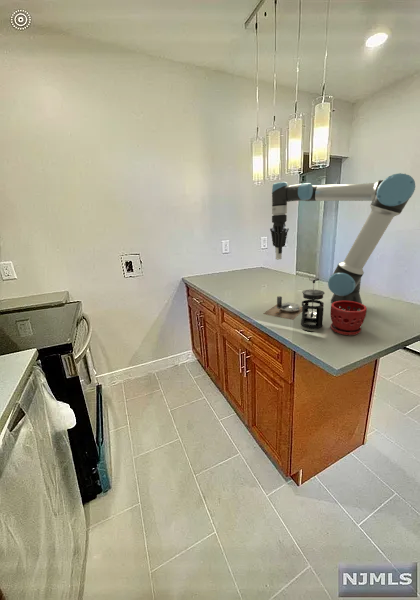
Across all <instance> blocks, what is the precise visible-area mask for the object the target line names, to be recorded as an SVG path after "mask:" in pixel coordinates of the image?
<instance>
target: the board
mask: <svg viewBox="0 0 420 600" xmlns="http://www.w3.org/2000/svg"><path fill="white" fill-rule="evenodd" d="M301 314H302V306H300V310H299V311H298V312H295V313H287V312H283V311H281V310H280V309H278V308H277V303H276V304H275V305H273V306H272V307H270V308H269V309H267V310H266V311H264V312H263V315H267V316H272V317H276V318H280V319H281V318H282V319H288V320H292V321H294V319H295V318H297V317H298V316H299V315H301Z"/></svg>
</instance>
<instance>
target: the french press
mask: <svg viewBox="0 0 420 600" xmlns="http://www.w3.org/2000/svg"><path fill="white" fill-rule="evenodd" d="M308 280H309V281H312V289H305V290H302V292H301V293H302V297H303V299H305V300H301V301H302V302H301V307H302V312H301V320H300V325H301V327H303V328H305V329H303V328H301V329H302V331H304V332H308V333H315V331H314V330H318V329H321V328H323V323H324V322H323V320H324V311H325V310H324V309H325V308H324V305H325V304H324V302H323V301H322V300H323V298H324V295H325V292H324V291H323V290H319V289H315V283H316V282H317V281H319V280H320V279H319V278H317V277H311V278H308ZM309 303H311V305H309ZM314 303H315V304H319V305H315V306H314ZM309 310H311V311H309ZM314 310H316V311H314ZM305 322H314V323H315V324H308V323H305ZM308 329H309V330H308ZM312 330H313V331H312Z"/></svg>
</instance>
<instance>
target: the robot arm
mask: <svg viewBox="0 0 420 600" xmlns="http://www.w3.org/2000/svg"><path fill="white" fill-rule="evenodd" d="M271 189H272V190H271V209H272V210H271V214H272V216H271V223H273V225H272V227H271V228H269V230H270V234H271V239H272V240H271V241H272V246H273V247H274V248H275V260H282V253H283V247H285V246H286V241H287V236H288V232H289V230H290V229H289V227H287V226H286V222H287V220H288V219H287V218H288V216H287V213H288V202H297V201H300V202H330V201H331V202H339V201H340V202H348V201H349V202H363V201H364V202H368V201H369V202H370V201H371V203H370V205H369V206H370V208H371V211H370V213H369V215H368V217H367V218H366V219H365V221H364V224H363V226H362V227H361V229H360V232H359V233H358V234H357V236H356V239H355V240H354V242H353V244H352V246H351V248H350V250H348V253H347V254H346V257H345V258H344V260H343V261H341V262H339V263H338V264H337V266H336V268H335V269H334V272H333V273H332V275H330V276H329V278H328V281H327V286H328V289H329V290H330V292H331V293H332V294H333V295H332V296H331V299H330V302H329V303H330V304H332V303H333V302H336V301H354V302H358V303H361V304H363V301H362V297H361V295H360V291H361V283H362V282H361V281H362V277H363V275H364V273H365V272H364V270H363V268H364V266H365V265H366V263H367V262H368V260H369V259H370V257H371V255H372V254H373V252H374V250H375V248H376V247H377V245H378V244H379V242H380V240H381V239H382V237H383V235H384V234H385V232H386V230H387V228H388V227H389V225H390V223H391V222H392V220H393V219H394V218H395V217H397V216H399V215H400V214H402V212H403V210H404V209H405V207H406V205H407V204H408V202H409V201H410V199H411V198H412V196H413V194H414V193H415V190H416V182H415V179H414V178H413V176H411V175H409V174H406V173H402V172H399V173H394V174H391V175H389V176H388V177H386V178H384V179H382V180H381V179H379V180H378V181H376V182H369V183H368V182H366V183H343V184H342V183H341V184H321V185H320V184H319V185H314V184H312V183H311V182H304V183H303V182H302V183H299V184H291V185H288V182H286V181H279V182H274V183H273V184H272V186H271ZM339 308H341V306H339ZM347 308H348V309H350V308H351V307H350V306H348V307H347ZM355 309H356V308H355V307H354V310H355ZM343 310H345V309H343ZM358 310H359V308H358Z"/></svg>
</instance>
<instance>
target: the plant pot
mask: <svg viewBox="0 0 420 600" xmlns="http://www.w3.org/2000/svg"><path fill="white" fill-rule="evenodd" d="M340 306H341V307H340ZM348 306H350V307H351V308H350V309H348V308H347V307H348ZM354 307H355V308H356V309H355V310H354ZM358 308H359V309H360V310H359V309H358ZM344 309H345V310H344ZM367 309H368V307H367V306H366V305H364V303H362V304H361V303H358V302H354V301H336V302H333V303H330V320H331V323H330V328H331V330H332V331H333V332H335V333H337V334H340V335H343V336H355V335H358V334H360V332H361V330H362V325H363V324H364V322H365V319H366V316H367Z"/></svg>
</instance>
